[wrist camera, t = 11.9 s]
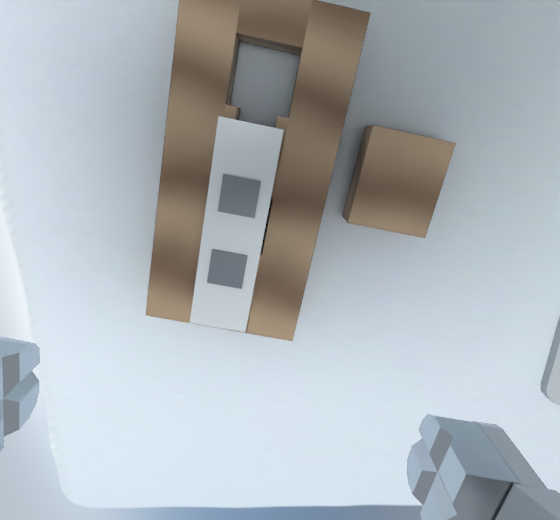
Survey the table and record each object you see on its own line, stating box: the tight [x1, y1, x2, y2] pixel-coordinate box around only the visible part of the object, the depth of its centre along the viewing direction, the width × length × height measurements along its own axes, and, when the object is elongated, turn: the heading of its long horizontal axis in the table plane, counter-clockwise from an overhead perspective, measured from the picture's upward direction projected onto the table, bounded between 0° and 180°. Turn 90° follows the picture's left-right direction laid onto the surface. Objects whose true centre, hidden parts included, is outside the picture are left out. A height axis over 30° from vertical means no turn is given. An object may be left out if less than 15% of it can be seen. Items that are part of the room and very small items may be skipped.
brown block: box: [343, 125, 456, 238], centre depth 29 cm, size 7×6×2 cm
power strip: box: [190, 116, 284, 332], centre depth 28 cm, size 14×4×6 cm, turn 169°
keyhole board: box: [146, 0, 370, 341], centre depth 29 cm, size 24×12×2 cm, turn 169°
